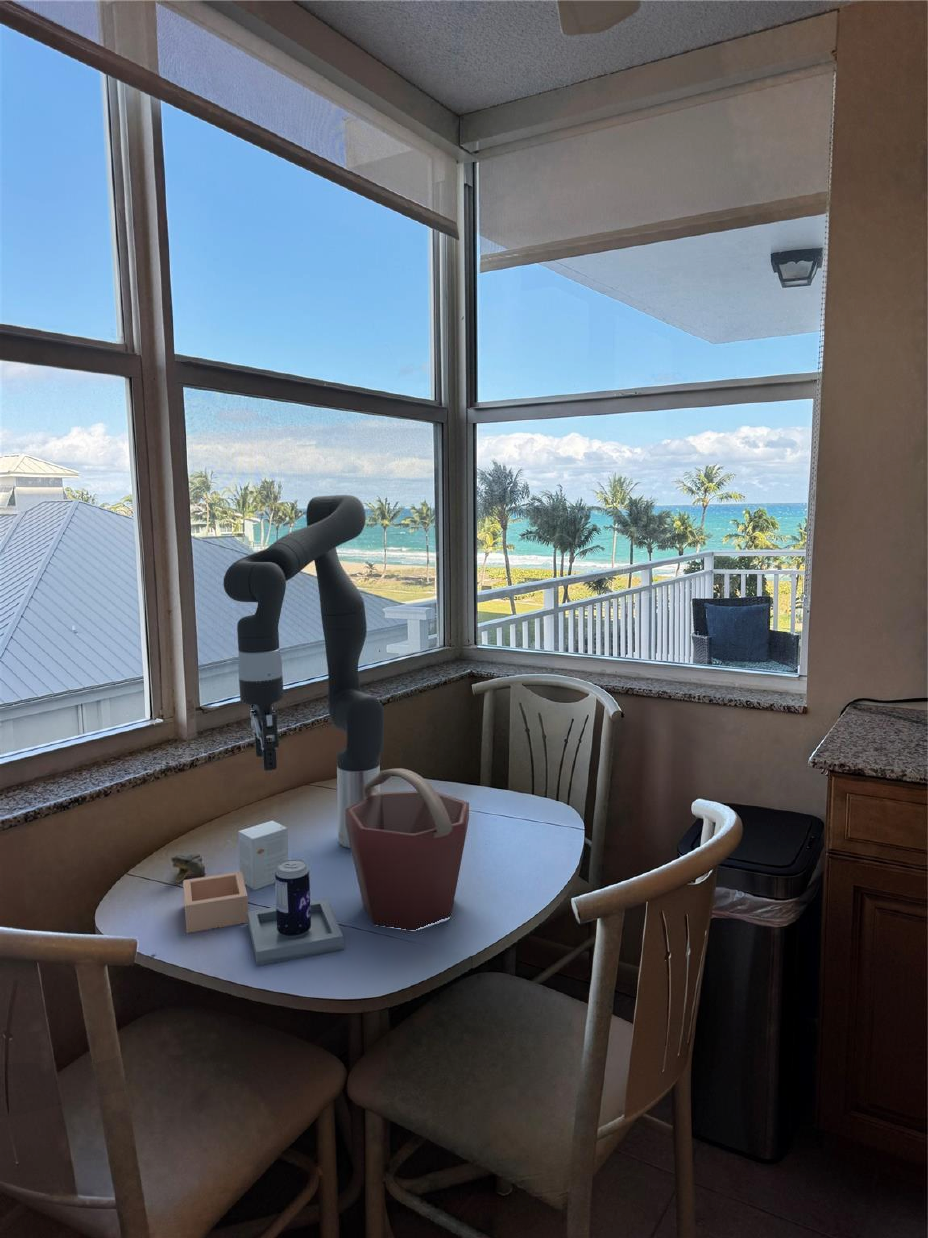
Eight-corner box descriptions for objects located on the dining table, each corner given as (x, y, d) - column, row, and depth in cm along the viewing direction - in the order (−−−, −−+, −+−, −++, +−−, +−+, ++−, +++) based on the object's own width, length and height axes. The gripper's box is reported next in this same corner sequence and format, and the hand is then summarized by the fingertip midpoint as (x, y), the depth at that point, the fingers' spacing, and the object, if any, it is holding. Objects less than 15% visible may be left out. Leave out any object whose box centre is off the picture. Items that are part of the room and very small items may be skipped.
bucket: (338, 888, 158) (335, 763, 155) (446, 870, 166) (446, 750, 162) (370, 952, 135) (368, 806, 132) (494, 927, 143) (494, 789, 140)
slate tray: (327, 911, 149) (326, 898, 149) (343, 949, 136) (343, 936, 136) (247, 924, 144) (247, 912, 144) (257, 966, 131) (256, 952, 131)
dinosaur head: (183, 894, 158) (184, 863, 156) (157, 883, 160) (157, 853, 158) (210, 873, 165) (211, 844, 163) (184, 864, 167) (185, 834, 165)
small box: (274, 869, 166) (273, 819, 165) (290, 878, 163) (288, 827, 161) (239, 882, 161) (237, 830, 160) (253, 891, 157) (251, 838, 156)
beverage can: (303, 942, 137) (301, 874, 135) (271, 938, 138) (269, 871, 136) (316, 925, 142) (314, 859, 141) (285, 922, 143) (283, 857, 142)
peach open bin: (242, 896, 155) (241, 871, 154) (248, 922, 145) (247, 895, 144) (184, 906, 151) (183, 880, 150) (186, 933, 141) (185, 905, 141)
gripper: (289, 680, 140) (294, 771, 143) (274, 665, 153) (279, 748, 156) (244, 685, 137) (250, 778, 140) (233, 669, 150) (239, 754, 153)
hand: (266, 762), depth 148 cm, fingers open, 8 cm apart
